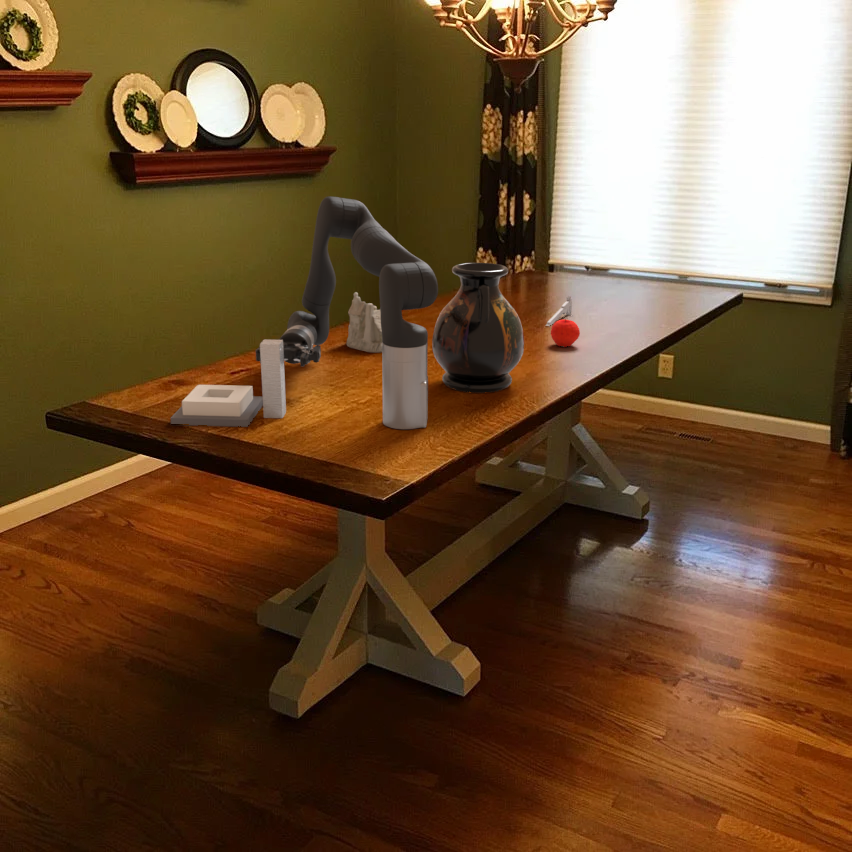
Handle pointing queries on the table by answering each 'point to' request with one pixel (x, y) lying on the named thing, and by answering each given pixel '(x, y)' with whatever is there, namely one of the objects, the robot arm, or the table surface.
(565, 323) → the apple
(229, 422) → the socket block
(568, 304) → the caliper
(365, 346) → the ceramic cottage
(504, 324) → the black painted vase
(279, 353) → the steel peg
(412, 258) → the robot arm
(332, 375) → the table surface
